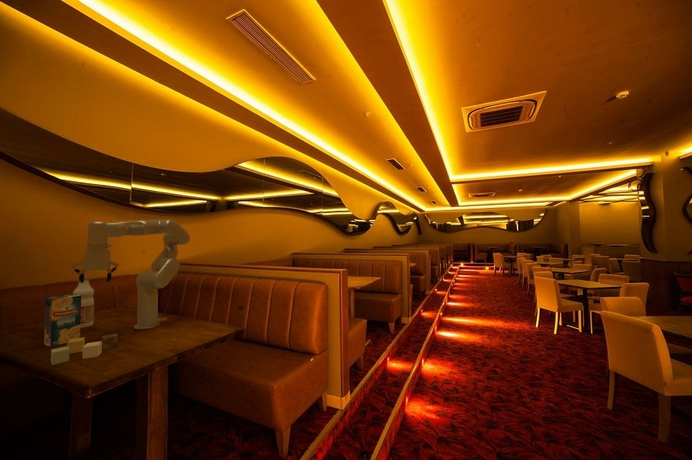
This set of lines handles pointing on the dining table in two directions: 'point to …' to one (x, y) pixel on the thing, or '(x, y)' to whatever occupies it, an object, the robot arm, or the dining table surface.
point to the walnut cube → (110, 341)
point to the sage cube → (59, 355)
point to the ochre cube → (76, 345)
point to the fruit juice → (86, 302)
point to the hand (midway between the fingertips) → (95, 282)
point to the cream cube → (92, 349)
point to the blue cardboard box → (62, 319)
